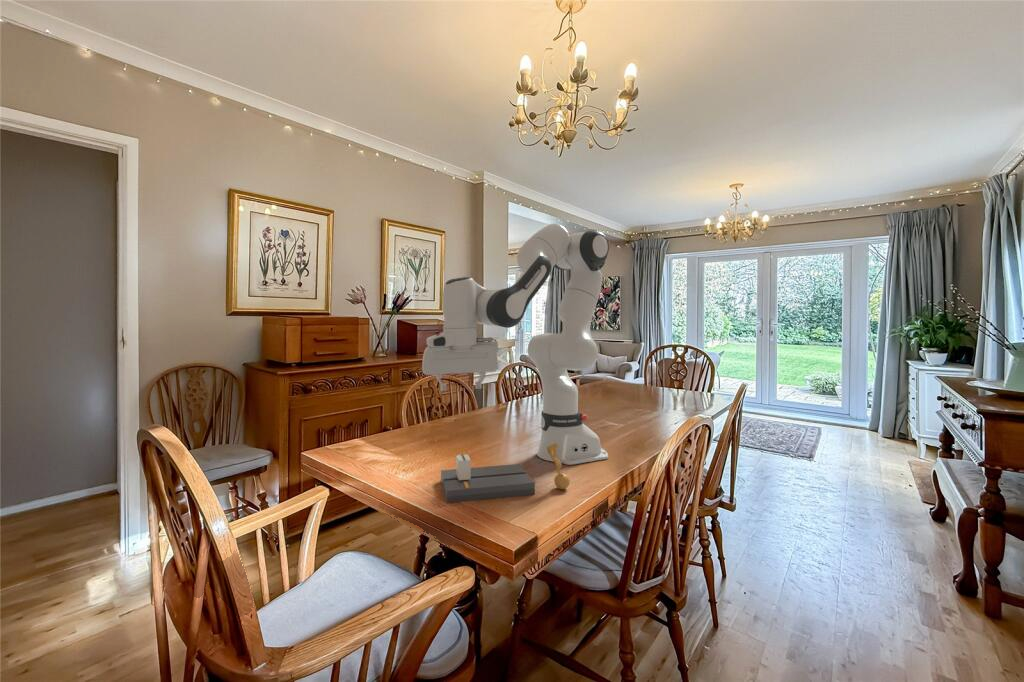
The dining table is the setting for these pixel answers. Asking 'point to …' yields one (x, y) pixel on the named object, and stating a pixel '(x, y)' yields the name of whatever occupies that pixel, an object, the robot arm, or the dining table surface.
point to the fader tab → (463, 467)
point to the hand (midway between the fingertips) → (461, 389)
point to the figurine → (561, 478)
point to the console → (487, 483)
